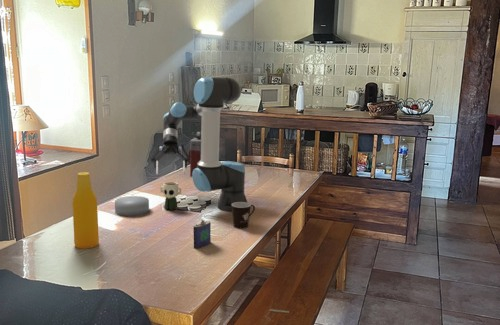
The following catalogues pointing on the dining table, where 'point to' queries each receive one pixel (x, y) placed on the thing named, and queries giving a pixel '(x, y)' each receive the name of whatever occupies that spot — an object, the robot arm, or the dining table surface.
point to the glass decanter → (195, 152)
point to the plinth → (131, 206)
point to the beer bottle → (85, 213)
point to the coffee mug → (241, 214)
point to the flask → (202, 234)
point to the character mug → (170, 194)
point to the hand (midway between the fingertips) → (170, 172)
